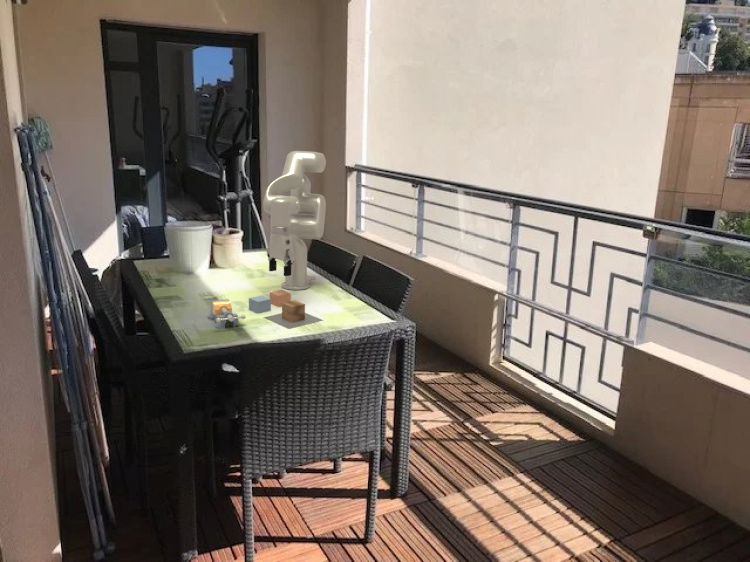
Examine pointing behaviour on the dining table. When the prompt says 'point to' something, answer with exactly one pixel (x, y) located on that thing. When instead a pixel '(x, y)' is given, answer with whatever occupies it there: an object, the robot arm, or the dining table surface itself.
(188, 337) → the dining table surface
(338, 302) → the dining table surface
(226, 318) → the vise
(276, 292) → the salmon orange cube
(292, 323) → the plate
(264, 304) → the slate brick
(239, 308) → the dining table surface
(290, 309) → the brown wooden cube
